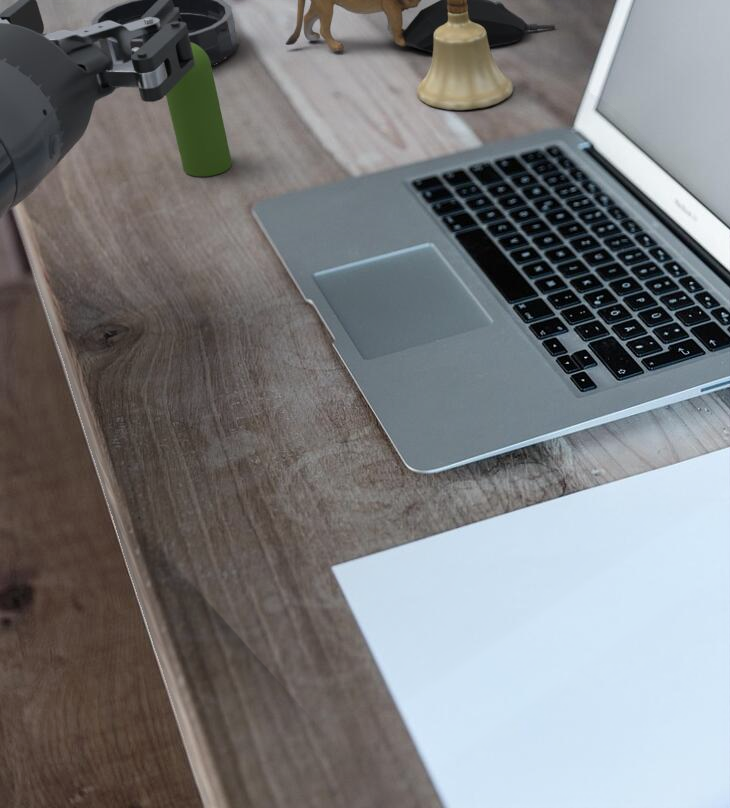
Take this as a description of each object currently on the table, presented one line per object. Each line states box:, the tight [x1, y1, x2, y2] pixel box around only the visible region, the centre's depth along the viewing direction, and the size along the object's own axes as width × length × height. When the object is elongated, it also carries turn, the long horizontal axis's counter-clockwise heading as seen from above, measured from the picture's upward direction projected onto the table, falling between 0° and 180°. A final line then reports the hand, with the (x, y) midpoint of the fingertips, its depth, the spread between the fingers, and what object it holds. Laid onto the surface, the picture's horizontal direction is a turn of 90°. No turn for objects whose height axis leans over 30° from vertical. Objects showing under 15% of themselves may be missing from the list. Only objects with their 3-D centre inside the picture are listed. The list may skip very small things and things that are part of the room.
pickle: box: [165, 42, 233, 178], centre depth 90 cm, size 4×4×10 cm
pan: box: [90, 0, 239, 67], centre depth 111 cm, size 12×12×4 cm
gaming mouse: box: [403, 0, 556, 54], centre depth 114 cm, size 6×15×4 cm, turn 111°
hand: (102, 14), depth 75 cm, fingers open, 8 cm apart
